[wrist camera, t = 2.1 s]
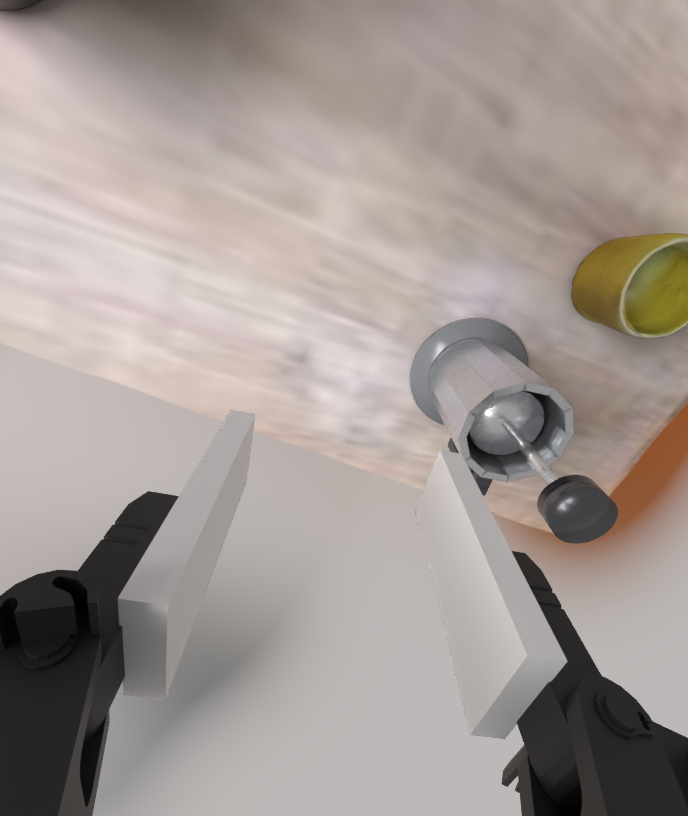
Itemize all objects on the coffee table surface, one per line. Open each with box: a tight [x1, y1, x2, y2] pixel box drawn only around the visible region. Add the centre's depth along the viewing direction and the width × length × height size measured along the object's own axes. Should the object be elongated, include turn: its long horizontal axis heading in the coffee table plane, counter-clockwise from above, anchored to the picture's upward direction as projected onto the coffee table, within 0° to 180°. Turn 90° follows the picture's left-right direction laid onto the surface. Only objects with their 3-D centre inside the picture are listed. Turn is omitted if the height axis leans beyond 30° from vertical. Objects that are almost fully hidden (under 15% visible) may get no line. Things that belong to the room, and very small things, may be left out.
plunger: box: [469, 390, 618, 543], centre depth 30 cm, size 7×7×13 cm
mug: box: [571, 233, 688, 339], centre depth 38 cm, size 12×10×10 cm
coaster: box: [410, 318, 527, 425], centre depth 46 cm, size 14×14×1 cm
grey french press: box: [428, 338, 574, 495], centre depth 40 cm, size 13×10×14 cm
